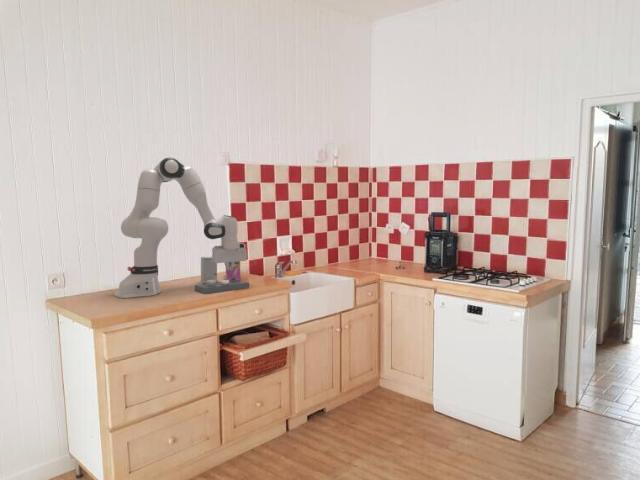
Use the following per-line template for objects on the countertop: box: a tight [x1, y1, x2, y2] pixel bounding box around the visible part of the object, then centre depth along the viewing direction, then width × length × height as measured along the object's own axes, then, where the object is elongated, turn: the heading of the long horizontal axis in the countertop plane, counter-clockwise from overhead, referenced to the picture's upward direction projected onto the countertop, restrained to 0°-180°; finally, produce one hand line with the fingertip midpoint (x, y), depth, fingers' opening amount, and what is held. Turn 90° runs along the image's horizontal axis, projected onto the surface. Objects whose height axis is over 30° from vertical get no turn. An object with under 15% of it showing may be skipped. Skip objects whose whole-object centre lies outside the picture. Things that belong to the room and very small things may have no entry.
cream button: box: [220, 279, 229, 285], centre depth 262 cm, size 4×4×2 cm
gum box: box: [225, 261, 241, 281], centre depth 299 cm, size 24×8×14 cm, turn 13°
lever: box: [231, 264, 241, 280], centre depth 274 cm, size 2×2×10 cm
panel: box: [194, 279, 250, 295], centre depth 264 cm, size 26×12×3 cm, turn 131°
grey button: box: [207, 280, 216, 285], centre depth 256 cm, size 4×4×2 cm
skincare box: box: [200, 256, 218, 284], centre depth 285 cm, size 8×6×15 cm
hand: (229, 270), depth 271 cm, fingers closed
